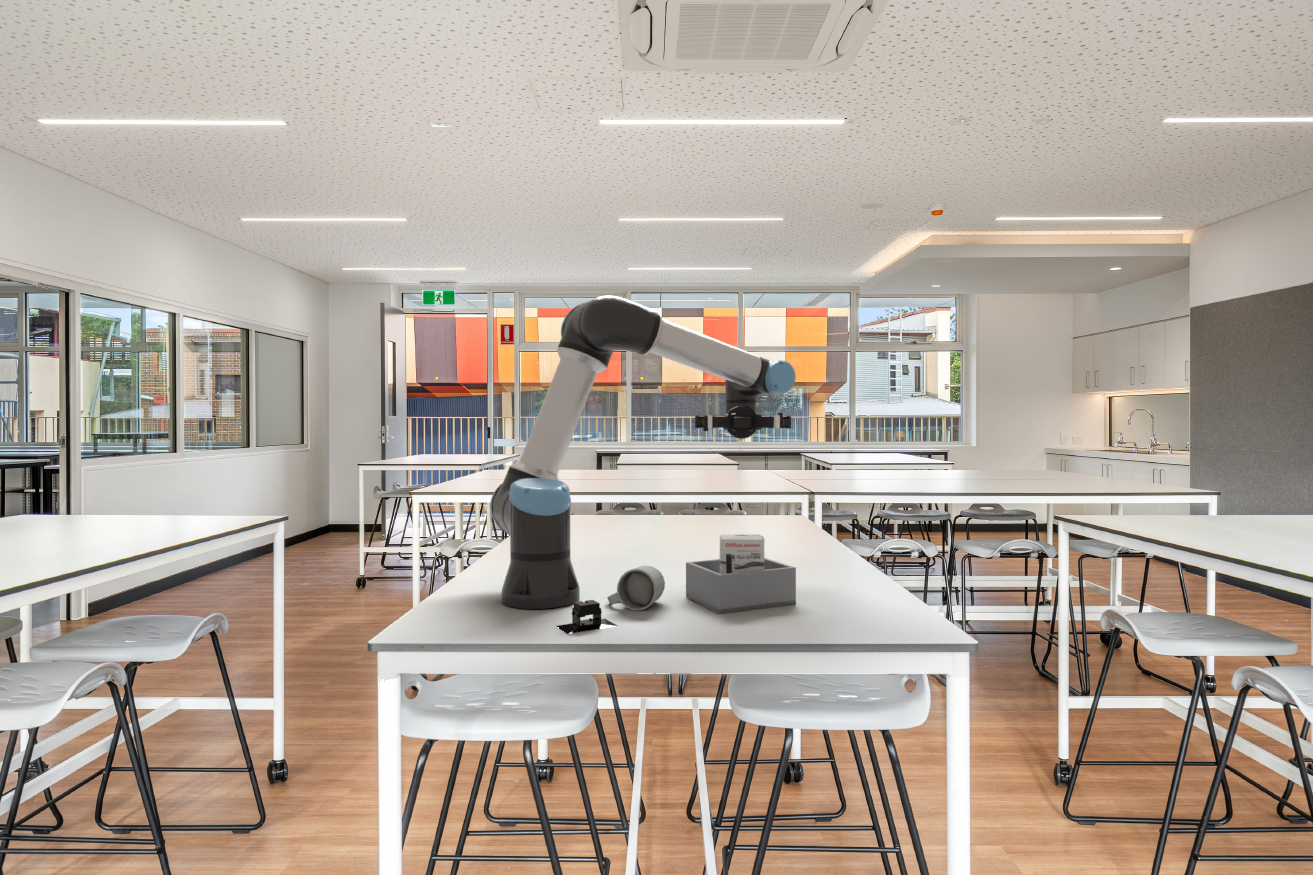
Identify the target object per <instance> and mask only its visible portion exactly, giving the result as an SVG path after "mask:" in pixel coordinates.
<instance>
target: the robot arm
mask: <svg viewBox="0 0 1313 875" xmlns="http://www.w3.org/2000/svg"><path fill="white" fill-rule="evenodd" d="M560 337H561V338H560V341H559V344H558V346H557V349H556V352H557V354H558V357H559V362H558V365H557V367H556V370H555V372H554V374H553V377H552V378H551V379H552V380H551V383H550V384H549V387H548V389H547V393H546V394H545V397H544V398H543V402H542V404H541V406H540V410H539V412H538V414H537V417H536V419H535V422H534V425H533V427H532V430H531V431H530V434H529V437H528V438H527V441H526V445H525V447H524V449H523V452H522V455H521V457H520V459H519V460H518V461H517V462H515V463H513V464H510V465H509V466H508V469H507V472H506V475H505V477H504V479H503V481H502V483H501V484H499V485H498V486H497V487H496V489H495V490H494V491H493V493H492V496H491V499H490V504H489V510H490V514H491V517H492V519H493V521H494V522H495V525H496V526H497V527H498V528H499V529H500V530H501V531H502V532H504V533H506V534H507V535H509V537H510V538H509V540H510V541H509V544H510V546H509V547H510V548H509V549H510V552H509V553H510V560H509V561H510V562H509V565H508V569H507V572H506V575H505V579H504V581H503V585H502V588H501V603H502V605H505V606H506V607H507V606H508V607H509V608H510V607H511V608H514V609H515V608H516V609H524V610H544V609H545V610H546V609H554V608H559V607H561V608H562V607H565V606H569V605H572V604H573V605H574V602H579V601H580V598H581V596H580V594H581V593H580V584H579V581H578V579H577V576H576V575H577V574H576V573H575V569H574V566H573V563H572V559H571V505H572V498H571V492H570V487H569V485H568V484H567V483H566V482H564V481H561V480H559V477H558V474H559V471H560V469H561V466H562V464H563V461H564V459H565V456H566V454H567V451H568V449H569V446H570V444H571V441H572V440H573V439H572V438H573V436H574V433H575V431H576V428H577V426H578V423H579V421H580V419H581V415H582V413H583V411H584V408H585V405H586V404H587V401H588V398H589V396H590V393H591V390H592V388H593V386H594V382H595V380H596V379H597V378H596V377H597V375H598V374H600V373H603V372H604V371H606V370H607V368H608V365H609V364H610V360H611V359H612V356H613V353H614V351H626V352H633V353H636V354H639V355H641V356H645V355H647V354H649V353H651V354H654V355H656V356H658V357H662V358H665V359H667V360H670V361H673V362H676V363H678V364H681V365H684V366H687V367H689V368H692V369H695V370H697V371H700V372H703V373H706V374H709V375H712V376H714V377H718V378H720V379H722V380H725V381H724V386H725V400H724V401H725V403H724V404H725V405H724V406H725V408H724V409H725V410H724V414H723V415H722V416H717V415H712V414H708V415H703V416H700V415H695V416H694V428H695V429H700V428H702V430H703V432H709V430H711V429H716V428H717V429H718V428H719V429H721V428H722V429H723V430H724V431H727V432H728V434H729V435H730V436H732V438H736V439H738V440H739V441H740V442H741V441H744V439H748V438H750V437H752V436H753V435H754V434H755V433H756V432H757V431H761V430H762V429H763V428H764V429H774V430H780V429H781V430H782V429H788V430H789V429H792V416H791V415H786V416H784V413H783V412H778V413H777V414H776V415H773V416H771V415H769V416H763V415H762V414H757V396H770V395H771V396H779V395H783V394H786V393H788V392H790V391H791V390H792V389H793V388H794V386H795V383H796V371H795V368H794V367H793V365H792V364H791V363H790V362H788V361H786V360H783V359H782V360H779V359H775V360H771V359H767V358H765V357H763V356H759V355H757V354H754V353H752V352H749V351H746V350H744V349H741V348H739V347H736V346H733V345H730V344H728V343H726V342H723V341H722V340H719V339H716V338H713V337H711V336H708V335H706V334H703V333H700V332H699V331H695V330H693V329H690V328H688V327H685V326H682V325H680V324H678V323H675V322H672V321H670V320H667V319H664V318H663V317H662V315H661V312H659V311H658V310H655V309H653V308H650V307H647V306H645V305H643V304H640V303H638V302H636V301H633V300H630V299H627V298H623V297H622V296H617V295H605V294H604V295H600V296H597V297H596V298H593V299H591V300H588V301H586V302H582V303H580V304H577V305H576V306H575V307H573V308H572V309H570V310H569V312H568V313H567V314H566V315H565V316H564V318H563V321H562V323H561V326H560Z"/></svg>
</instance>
